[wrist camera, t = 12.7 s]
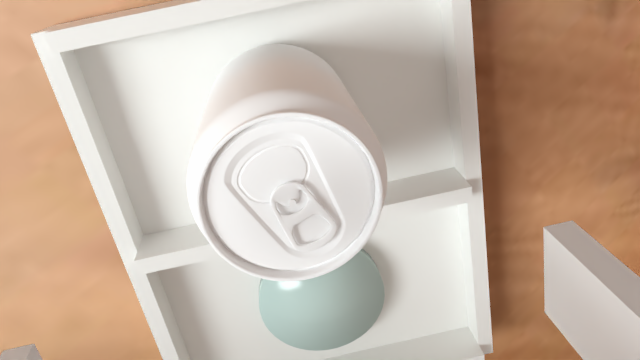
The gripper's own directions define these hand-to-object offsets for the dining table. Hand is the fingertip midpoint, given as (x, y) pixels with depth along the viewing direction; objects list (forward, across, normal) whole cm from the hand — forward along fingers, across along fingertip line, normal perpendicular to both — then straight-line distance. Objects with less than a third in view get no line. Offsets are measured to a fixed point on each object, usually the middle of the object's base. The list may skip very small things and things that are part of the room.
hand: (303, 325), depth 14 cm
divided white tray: (+20, 0, +6) cm, 21 cm away
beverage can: (+19, 0, 0) cm, 19 cm away
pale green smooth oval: (+19, 0, +13) cm, 23 cm away
